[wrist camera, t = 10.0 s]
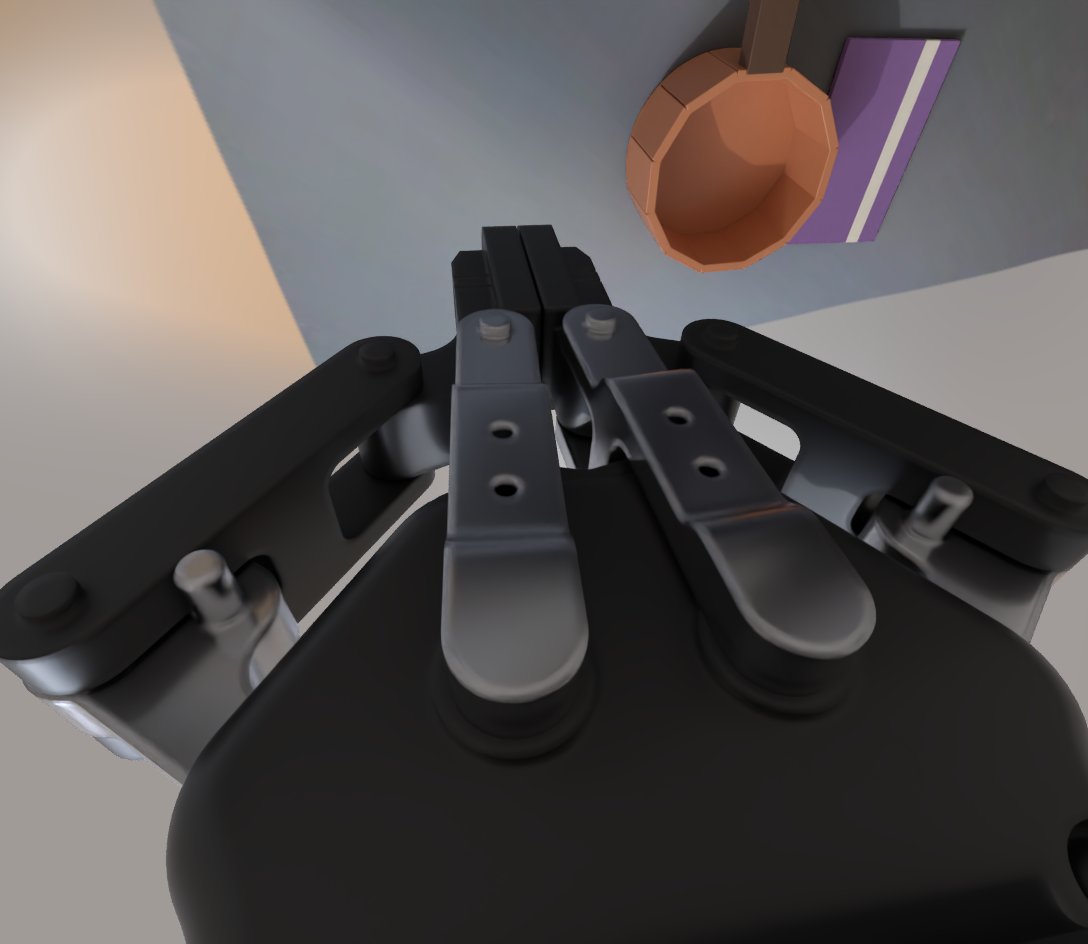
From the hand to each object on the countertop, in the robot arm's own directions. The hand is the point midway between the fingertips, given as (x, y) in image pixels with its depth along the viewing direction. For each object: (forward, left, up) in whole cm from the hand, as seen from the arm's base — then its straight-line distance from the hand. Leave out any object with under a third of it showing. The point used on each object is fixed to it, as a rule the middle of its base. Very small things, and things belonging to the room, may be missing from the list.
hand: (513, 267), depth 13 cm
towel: (+5, +24, -23) cm, 33 cm away
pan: (+2, +14, -23) cm, 27 cm away
